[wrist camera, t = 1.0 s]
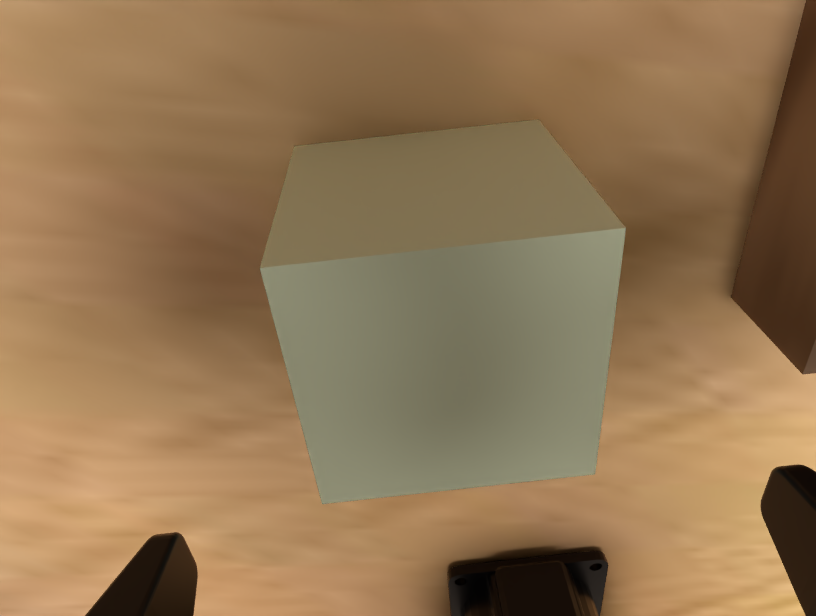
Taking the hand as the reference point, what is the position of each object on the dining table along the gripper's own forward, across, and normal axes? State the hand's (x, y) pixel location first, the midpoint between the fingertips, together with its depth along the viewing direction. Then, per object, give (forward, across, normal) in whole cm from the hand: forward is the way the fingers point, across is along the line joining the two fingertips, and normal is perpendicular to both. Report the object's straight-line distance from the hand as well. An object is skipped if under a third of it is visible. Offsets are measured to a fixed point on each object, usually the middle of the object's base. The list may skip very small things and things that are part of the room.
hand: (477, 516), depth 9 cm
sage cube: (+9, 0, 0) cm, 9 cm away
